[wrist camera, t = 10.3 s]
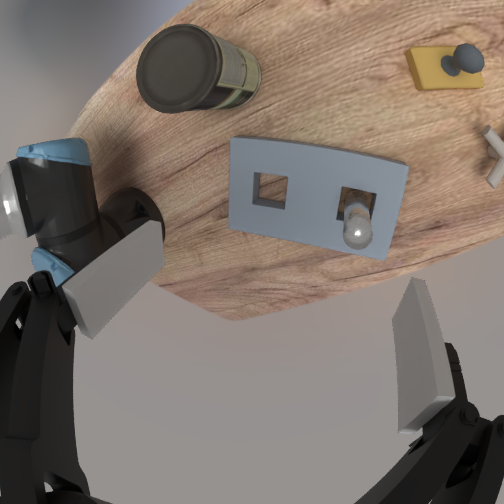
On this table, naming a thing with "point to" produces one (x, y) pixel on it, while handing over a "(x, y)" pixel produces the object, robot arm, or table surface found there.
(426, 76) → the rubber stamp
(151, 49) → the coffee can
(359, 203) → the pin
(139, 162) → the table surface
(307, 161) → the socket board
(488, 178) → the pipe connector
